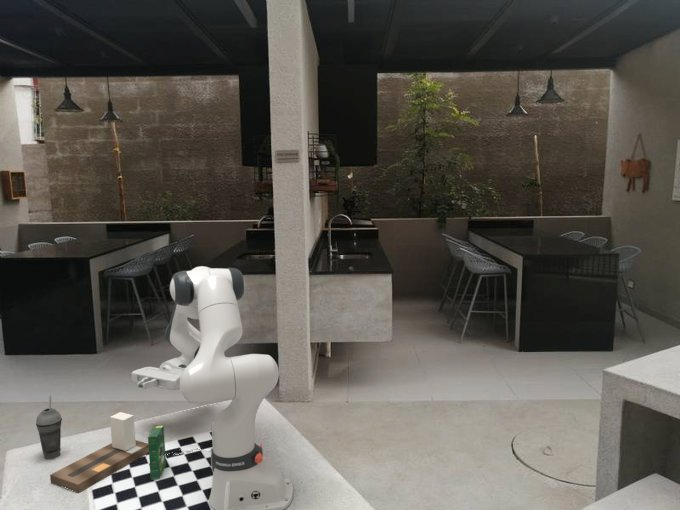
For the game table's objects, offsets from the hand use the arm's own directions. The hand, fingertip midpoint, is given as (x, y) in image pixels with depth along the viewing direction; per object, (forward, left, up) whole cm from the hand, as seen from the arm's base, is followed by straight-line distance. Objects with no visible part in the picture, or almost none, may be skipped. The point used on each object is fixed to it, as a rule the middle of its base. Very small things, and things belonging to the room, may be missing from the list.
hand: (140, 386), depth 174 cm
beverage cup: (+27, +6, -20) cm, 34 cm away
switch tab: (+4, +7, -17) cm, 19 cm away
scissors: (-20, +6, -20) cm, 29 cm away
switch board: (+8, +14, -20) cm, 26 cm away
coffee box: (-10, +19, -20) cm, 29 cm away
